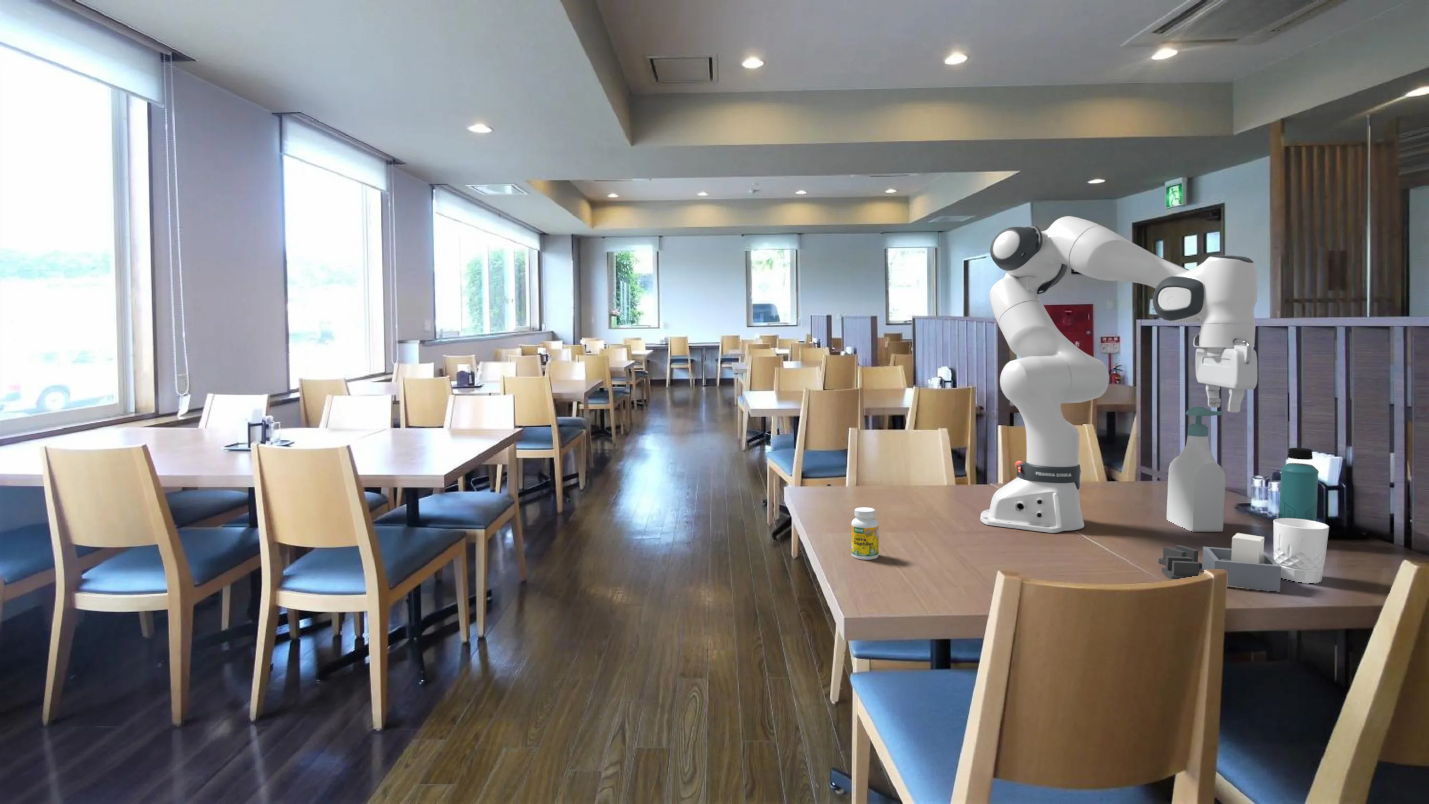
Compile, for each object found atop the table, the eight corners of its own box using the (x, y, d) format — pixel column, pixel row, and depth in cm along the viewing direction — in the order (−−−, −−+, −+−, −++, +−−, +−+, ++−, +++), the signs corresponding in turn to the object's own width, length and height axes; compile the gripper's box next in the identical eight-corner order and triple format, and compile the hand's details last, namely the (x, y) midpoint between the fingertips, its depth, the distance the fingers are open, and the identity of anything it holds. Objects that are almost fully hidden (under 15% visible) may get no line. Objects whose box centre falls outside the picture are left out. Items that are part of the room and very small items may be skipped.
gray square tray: (1213, 585, 133) (1214, 560, 133) (1202, 570, 142) (1203, 546, 142) (1279, 592, 130) (1281, 566, 129) (1263, 575, 138) (1265, 551, 138)
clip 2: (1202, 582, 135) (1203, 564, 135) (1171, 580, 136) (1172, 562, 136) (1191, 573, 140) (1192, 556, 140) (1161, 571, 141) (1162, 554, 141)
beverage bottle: (1322, 547, 156) (1328, 450, 154) (1286, 546, 157) (1291, 450, 156) (1305, 539, 162) (1310, 446, 161) (1269, 537, 164) (1274, 445, 162)
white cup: (1259, 572, 141) (1262, 518, 140) (1299, 570, 141) (1302, 517, 141) (1295, 585, 133) (1298, 529, 132) (1337, 584, 134) (1341, 528, 133)
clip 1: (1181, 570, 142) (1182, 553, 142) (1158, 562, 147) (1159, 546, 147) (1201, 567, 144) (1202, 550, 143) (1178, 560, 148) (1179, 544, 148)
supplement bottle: (879, 553, 155) (880, 507, 154) (877, 561, 150) (877, 513, 149) (852, 551, 156) (853, 505, 156) (849, 559, 151) (849, 511, 151)
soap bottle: (1231, 532, 168) (1237, 408, 166) (1192, 532, 169) (1198, 408, 167) (1202, 520, 179) (1208, 404, 177) (1166, 520, 180) (1171, 404, 177)
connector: (1217, 573, 137) (1219, 535, 136) (1222, 568, 140) (1224, 531, 139) (1257, 580, 133) (1259, 541, 132) (1262, 575, 135) (1264, 536, 135)
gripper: (1270, 339, 138) (1265, 415, 139) (1224, 338, 157) (1221, 404, 159) (1230, 339, 139) (1226, 414, 141) (1190, 338, 159) (1187, 404, 160)
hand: (1223, 409), depth 150 cm, fingers open, 8 cm apart
